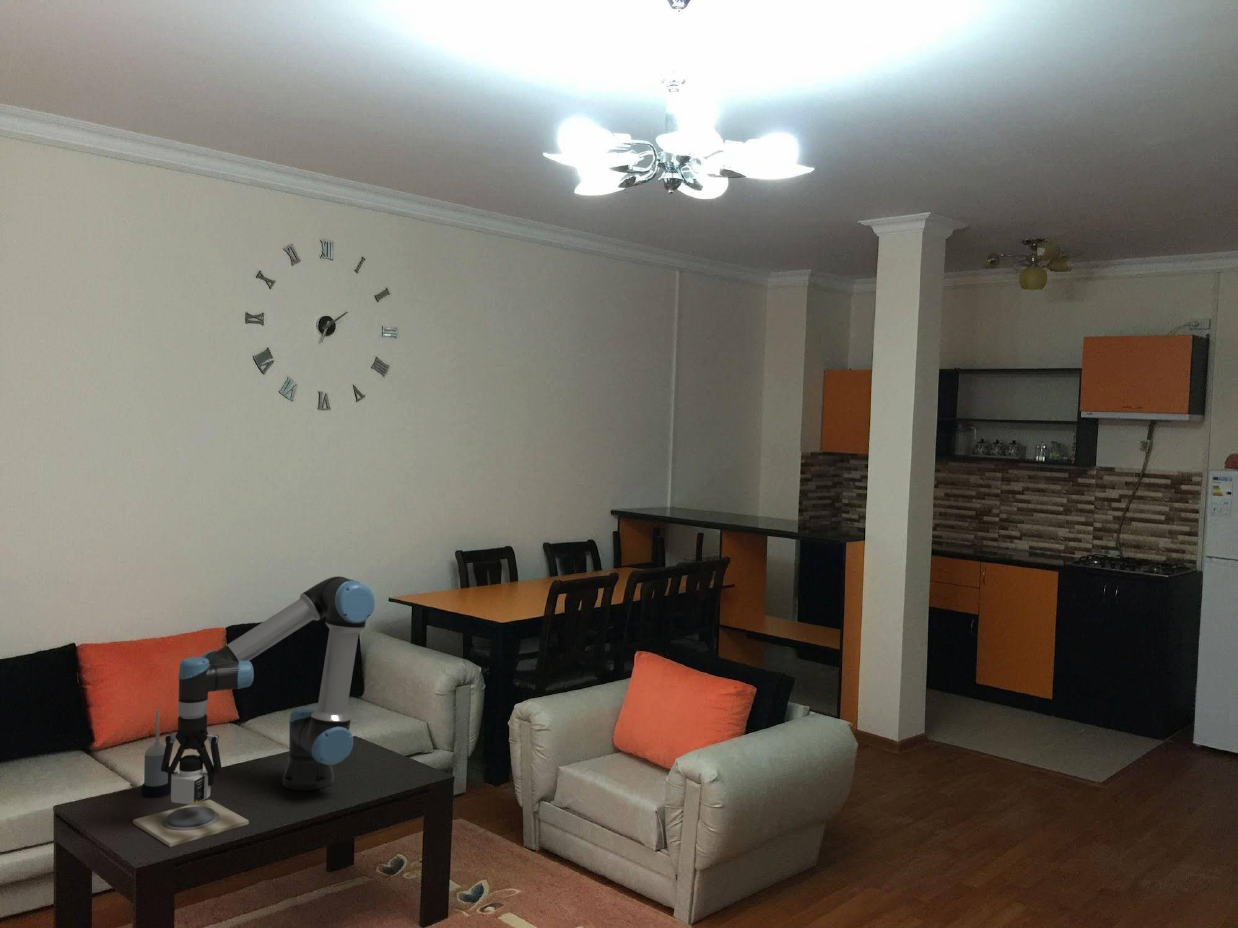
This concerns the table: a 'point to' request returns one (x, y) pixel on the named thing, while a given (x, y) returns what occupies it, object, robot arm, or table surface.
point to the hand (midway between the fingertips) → (190, 796)
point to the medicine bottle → (189, 781)
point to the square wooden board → (190, 822)
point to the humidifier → (155, 769)
